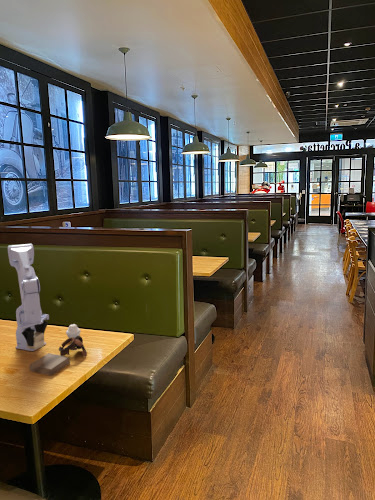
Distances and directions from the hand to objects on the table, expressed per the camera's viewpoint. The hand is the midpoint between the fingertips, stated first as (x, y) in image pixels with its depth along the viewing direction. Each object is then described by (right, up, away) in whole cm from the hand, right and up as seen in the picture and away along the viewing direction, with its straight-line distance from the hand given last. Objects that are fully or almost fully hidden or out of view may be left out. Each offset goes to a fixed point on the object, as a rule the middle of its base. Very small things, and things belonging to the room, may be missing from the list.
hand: (35, 343), depth 146 cm
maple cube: (0, -1, 0) cm, 1 cm away
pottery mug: (+14, -6, +6) cm, 16 cm away
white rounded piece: (+9, -4, +20) cm, 22 cm away
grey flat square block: (+7, -8, -5) cm, 12 cm away
